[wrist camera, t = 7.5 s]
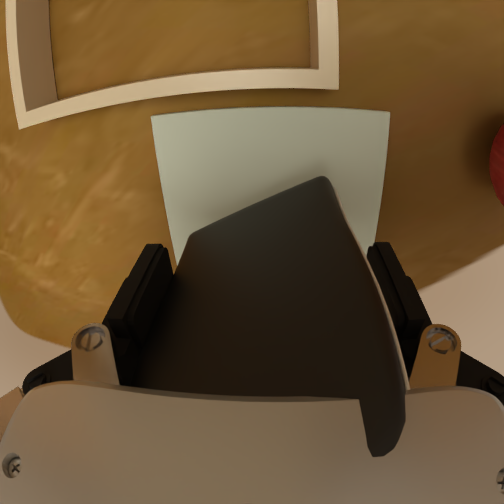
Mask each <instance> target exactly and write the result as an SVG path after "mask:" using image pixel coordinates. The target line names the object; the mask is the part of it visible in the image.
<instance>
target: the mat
mask: <svg viewBox="0 0 504 504" xmlns="http://www.w3.org/2000/svg"><path fill="white" fill-rule="evenodd" d="M151 121H152V129H153V136H154V143H155V149H156V156H157V162H158V168H159V174H160V180H161V186H162V192H163V197H164V203H165V208H166V213H167V219H168V224H169V229H170V234H171V239H172V244H173V248H174V253H175V258H176V262H177V265H178V263H179V260H180V258H181V256H182V253H183V250H184V248H185V245H186V242H187V239H188V237H189V235H190V234H192V233H193V232H195V231H197V230H199V229H201V228H203V227H205V226H207V225H209V224H211V223H213V222H215V221H218V220H220V219H222V218H224V217H226V216H228V215H230V214H233V213H235V212H237V211H239V210H241V209H243V208H246V207H248V206H250V205H252V204H254V203H257V202H259V201H261V200H264V199H266V198H268V197H270V196H273V195H275V194H277V193H280V192H282V191H284V190H287V189H289V188H291V187H294V186H296V185H299V184H301V183H303V182H306V181H308V180H311V179H313V178H316V177H318V176H325V177H327V178H328V179H329V180H330V182H331V184H332V186H334V187H335V188H336V190H337V192H338V195H339V198H340V201H341V204H342V207H343V210H344V212H345V215H346V217H347V220H348V222H349V224H350V226H351V228H352V230H353V232H354V234H355V235H356V237H357V239H358V241H359V243H360V245H361V247H362V249H363V251H364V253H365V255H366V256H367V251H368V247H369V246H373V243H374V241H375V235H376V230H377V223H378V217H379V211H380V204H381V197H382V190H383V182H384V174H385V166H386V156H387V146H388V135H389V123H390V112H388V111H380V110H369V109H356V108H340V107H315V106H258V107H233V108H217V109H204V110H193V111H183V112H173V113H165V114H157V115H153V116H151Z"/></svg>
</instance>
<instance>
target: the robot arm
mask: <svg viewBox="0 0 504 504" xmlns="http://www.w3.org/2000/svg"><path fill="white" fill-rule="evenodd" d="M366 257H367V260H368V262H369V264H370V266H371V268H372V270H373V273H374V275H375V277H376V279H377V282H378V284H379V286H380V289H381V291H382V294H383V296H384V299H385V302H386V304H387V307H388V310H389V313H390V316H391V319H392V322H393V325H394V328H395V331H396V335H397V338H398V342H399V345H400V349H401V353H402V356H403V360H404V364H405V368H406V372H407V377H408V381H409V386H410V390H406V394H405V411H406V422H405V425H404V427H403V430H402V433H401V436H400V438H399V441H398V443H397V444H396V446H395V448H394V449H393V450H392V451H390V452H389V453H388V454H386V455H385V456H382V457H372V455H371V453H370V451H369V449H368V447H367V441H366V434H365V429H364V424H363V418H362V413H361V408H360V403H359V399H347V398H329V397H310V396H295V397H259V396H228V395H210V394H195V393H183V392H172V391H163V390H154V389H146V388H137V387H129V386H130V383H131V380H132V377H133V374H134V371H135V368H136V365H137V363H138V360H139V357H140V354H141V352H142V349H143V347H144V344H145V342H146V339H147V337H148V334H149V332H150V329H151V327H152V324H153V322H154V319H155V317H156V314H157V312H158V310H159V307H160V305H161V303H162V300H163V298H164V296H165V294H166V291H167V289H168V287H169V285H170V283H171V280H172V278H173V271H172V267H171V262H170V258H169V253H168V249H167V248H166V247H165V248H163V246H162V244H147V245H146V246H145V247H144V249H143V251H142V253H141V254H140V256H139V258H138V260H137V262H136V263H135V265H134V267H133V269H132V271H131V272H130V274H129V276H128V278H126V279H125V280H124V282H123V284H122V286H121V287H120V289H119V291H118V293H117V295H116V297H115V299H114V301H113V302H112V304H111V306H110V308H109V310H108V312H107V314H106V316H105V318H104V320H103V322H102V324H100V323H92V324H88V325H85V326H83V327H82V328H80V329H79V330H78V331H77V332H76V333H75V334H74V336H73V338H72V342H71V350H69V351H68V352H65V353H64V354H62V355H60V356H58V357H56V358H54V359H52V360H51V361H49V362H47V363H45V364H43V365H41V366H39V367H38V368H36V369H34V370H32V371H31V372H30V373H29V374H28V375H27V376H26V378H25V379H24V381H23V386H22V388H21V389H20V388H19V387H16V388H15V389H14V390H12V391H10V392H9V393H7V394H6V395H4V396H3V397H1V398H0V504H504V377H503V376H502V375H501V374H499V373H498V372H496V371H495V370H493V369H491V368H490V367H488V366H486V365H484V364H483V363H481V362H479V361H477V360H476V359H474V358H472V357H471V356H469V355H467V354H465V353H464V352H462V351H461V340H460V338H459V336H458V335H457V333H456V332H455V331H454V330H452V329H451V328H450V327H447V326H445V325H441V324H432V322H431V320H430V318H429V316H428V314H427V311H426V309H425V307H424V304H423V302H422V300H421V298H420V296H419V294H418V292H417V289H416V287H415V285H414V283H413V281H412V279H411V278H410V277H409V276H406V275H405V273H404V271H403V269H402V267H401V265H400V263H399V261H398V259H397V257H396V255H395V253H394V251H393V249H392V247H391V245H390V243H389V242H374V243H373V246H369V247H368V251H367V256H366Z"/></svg>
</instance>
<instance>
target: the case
mask: <svg viewBox="0 0 504 504" xmlns="http://www.w3.org/2000/svg"><path fill="white" fill-rule="evenodd" d="M308 5H309V28H310V63H311V68H304V67H267V68H241V69H225V70H213V71H203V72H193V73H185V74H177V75H170V76H163V77H157V78H151V79H145V80H140V81H134V82H129V83H124V84H119V85H115V86H110V87H106V88H102V89H97V90H93V91H89V92H85V93H82V94H78V95H74V96H71V97H67V98H64V99H60V100H58V98H57V92H56V85H55V77H54V69H53V61H52V51H51V39H50V23H49V0H6V34H7V49H8V61H9V70H10V78H11V86H12V93H13V99H14V105H15V111H16V116H17V121H18V126H19V129H22V128H25V127H28V126H32V125H35V124H38V123H42V122H45V121H48V120H52V119H55V118H59V117H63V116H67V115H71V114H75V113H79V112H83V111H87V110H91V109H96V108H100V107H105V106H110V105H115V104H120V103H126V102H131V101H137V100H143V99H149V98H156V97H163V96H170V95H178V94H187V93H197V92H207V91H220V90H235V89H258V88H314V89H337V90H339V37H338V9H337V0H308Z"/></svg>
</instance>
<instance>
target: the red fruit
mask: <svg viewBox="0 0 504 504" xmlns="http://www.w3.org/2000/svg"><path fill="white" fill-rule="evenodd" d="M489 168H490V171H489V173H490V177H491V181H492V184H493V187H494V189H495V192H496V195H497V198H498V199H499V200H500V202H501V203H502V204H503V206H504V124H503V125H502V126H501V127H500V129H499V131H498V132H497V134H496V136H495V138H494V140H493V144H492V148H491V152H490V156H489Z"/></svg>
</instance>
